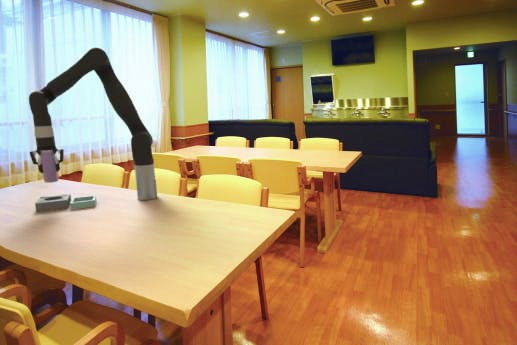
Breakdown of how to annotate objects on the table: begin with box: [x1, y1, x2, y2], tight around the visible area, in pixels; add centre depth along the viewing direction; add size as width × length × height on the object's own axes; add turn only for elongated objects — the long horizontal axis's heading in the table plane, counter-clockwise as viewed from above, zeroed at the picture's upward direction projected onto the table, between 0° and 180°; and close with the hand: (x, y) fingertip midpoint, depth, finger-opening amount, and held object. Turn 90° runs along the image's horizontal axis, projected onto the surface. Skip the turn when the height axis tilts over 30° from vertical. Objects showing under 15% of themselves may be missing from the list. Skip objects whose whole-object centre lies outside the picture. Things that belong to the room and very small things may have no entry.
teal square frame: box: [69, 194, 97, 210], centre depth 174 cm, size 10×10×3 cm
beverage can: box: [39, 150, 59, 184], centre depth 170 cm, size 6×6×15 cm
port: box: [34, 193, 72, 213], centre depth 173 cm, size 13×13×4 cm
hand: (50, 172), depth 170 cm, fingers closed on beverage can, 5 cm apart
